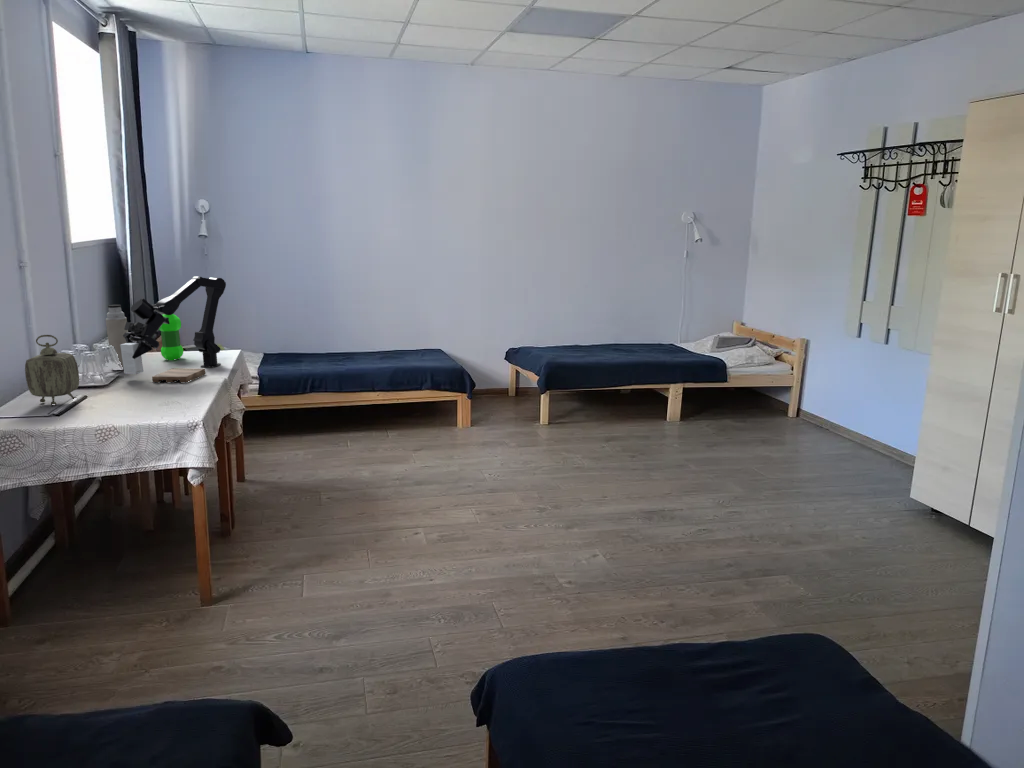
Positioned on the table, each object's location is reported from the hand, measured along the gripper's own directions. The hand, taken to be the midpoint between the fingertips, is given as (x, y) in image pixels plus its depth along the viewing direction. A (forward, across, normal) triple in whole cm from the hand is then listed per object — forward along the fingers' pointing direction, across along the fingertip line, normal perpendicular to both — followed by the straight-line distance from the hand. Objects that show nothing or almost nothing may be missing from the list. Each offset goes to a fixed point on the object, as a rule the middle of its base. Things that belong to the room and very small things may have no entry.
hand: (128, 357), depth 299 cm
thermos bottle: (0, -26, +14) cm, 30 cm away
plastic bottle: (-17, -29, +31) cm, 46 cm away
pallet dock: (-3, +12, +16) cm, 21 cm away
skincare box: (+4, 0, +6) cm, 7 cm away
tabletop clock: (+32, +16, -18) cm, 40 cm away
